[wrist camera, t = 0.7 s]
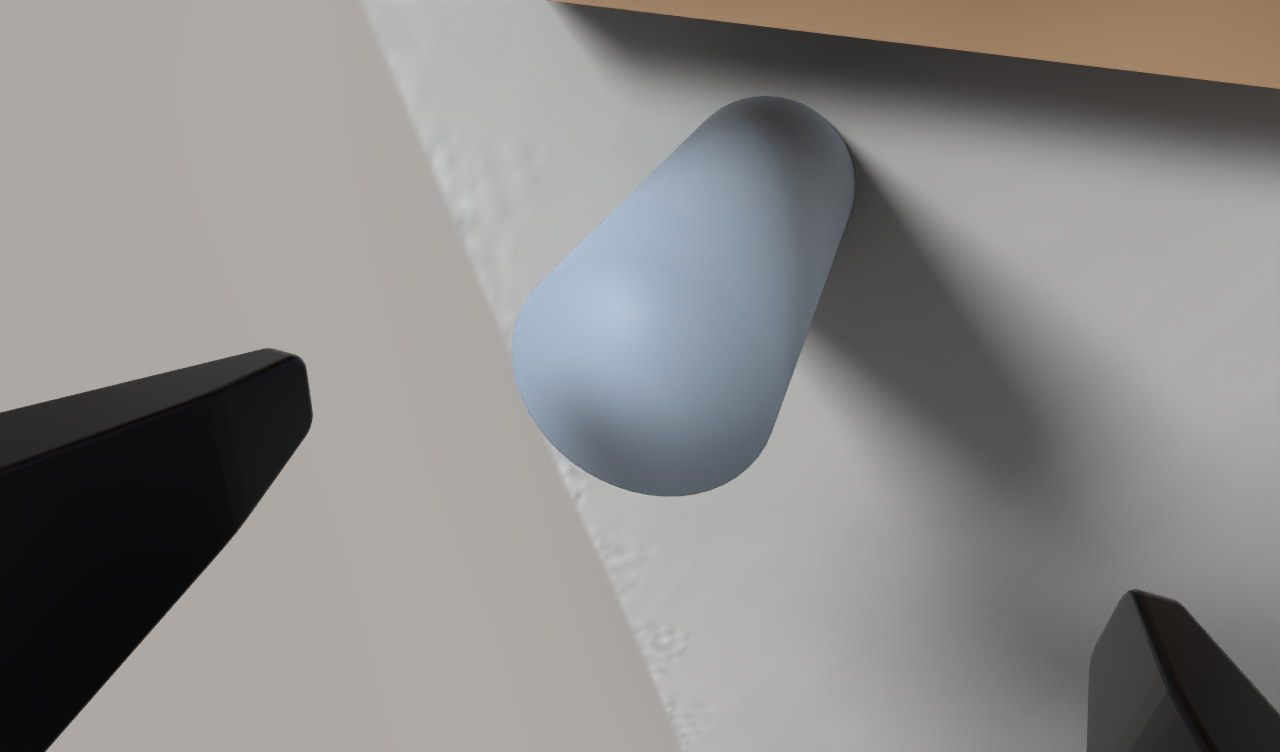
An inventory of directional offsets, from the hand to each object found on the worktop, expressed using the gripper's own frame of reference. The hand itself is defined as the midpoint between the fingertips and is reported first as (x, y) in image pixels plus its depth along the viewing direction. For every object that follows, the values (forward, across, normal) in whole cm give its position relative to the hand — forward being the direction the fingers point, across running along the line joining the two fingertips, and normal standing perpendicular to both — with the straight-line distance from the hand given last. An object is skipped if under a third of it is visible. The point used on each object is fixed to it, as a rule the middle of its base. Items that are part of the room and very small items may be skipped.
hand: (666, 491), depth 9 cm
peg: (+12, +1, +1) cm, 12 cm away
